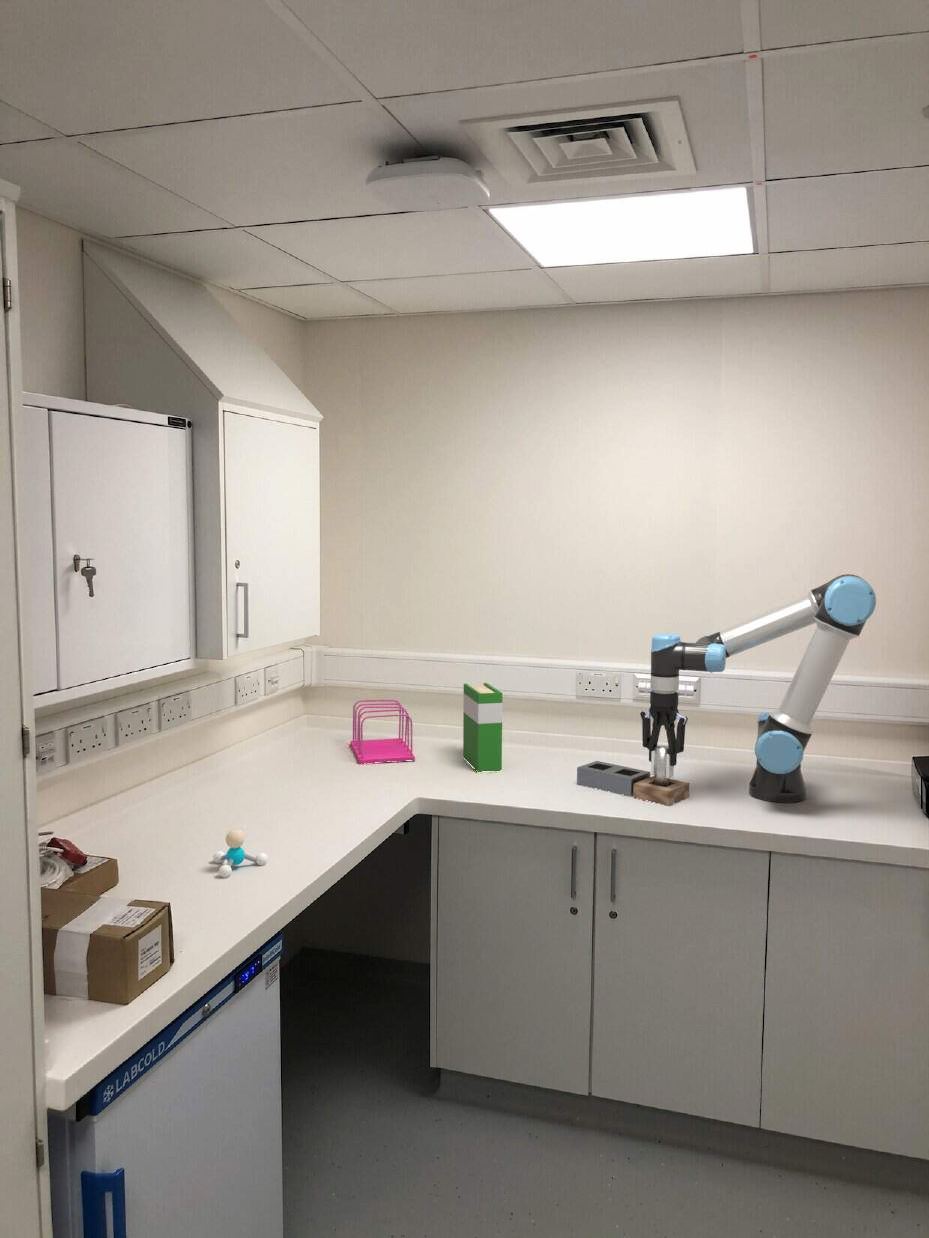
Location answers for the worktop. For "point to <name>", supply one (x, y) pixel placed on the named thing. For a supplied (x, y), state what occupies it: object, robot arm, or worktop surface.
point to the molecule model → (236, 854)
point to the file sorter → (381, 747)
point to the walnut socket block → (661, 791)
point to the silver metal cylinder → (661, 766)
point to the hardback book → (482, 727)
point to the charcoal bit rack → (610, 777)
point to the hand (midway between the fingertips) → (662, 775)
